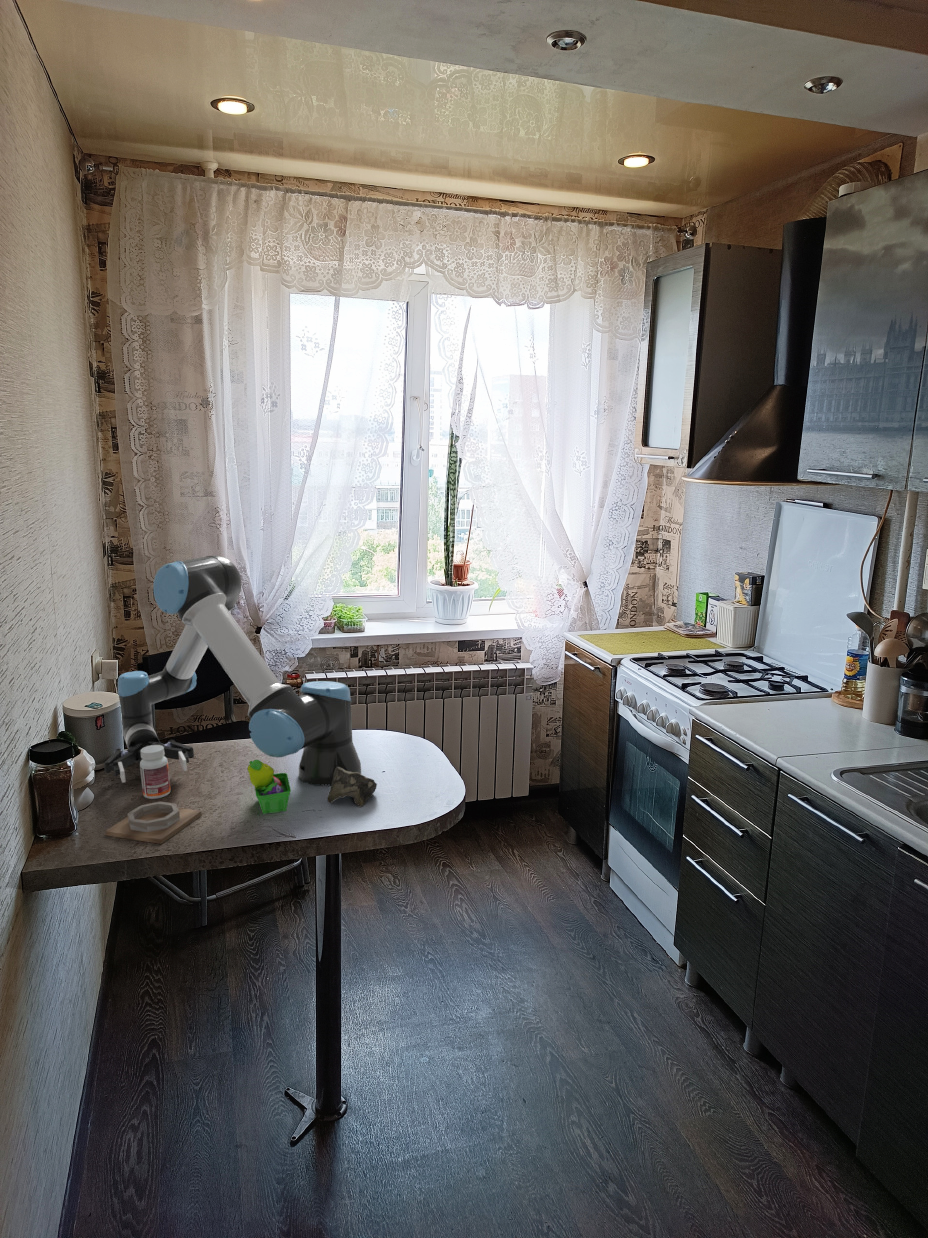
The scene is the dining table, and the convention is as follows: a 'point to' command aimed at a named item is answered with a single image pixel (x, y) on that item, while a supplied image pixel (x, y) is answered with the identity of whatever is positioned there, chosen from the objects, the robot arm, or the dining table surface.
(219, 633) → the robot arm
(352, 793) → the fossil
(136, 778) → the dining table surface
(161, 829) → the carrier plate
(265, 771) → the fruit basket
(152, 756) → the pill bottle
